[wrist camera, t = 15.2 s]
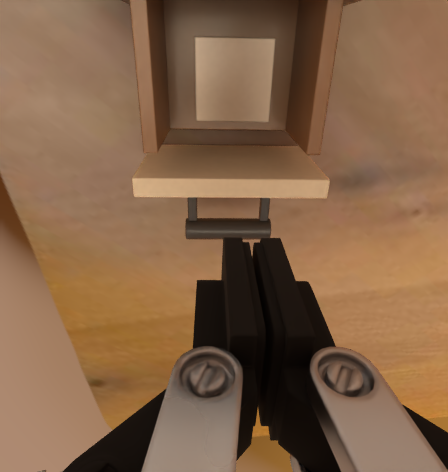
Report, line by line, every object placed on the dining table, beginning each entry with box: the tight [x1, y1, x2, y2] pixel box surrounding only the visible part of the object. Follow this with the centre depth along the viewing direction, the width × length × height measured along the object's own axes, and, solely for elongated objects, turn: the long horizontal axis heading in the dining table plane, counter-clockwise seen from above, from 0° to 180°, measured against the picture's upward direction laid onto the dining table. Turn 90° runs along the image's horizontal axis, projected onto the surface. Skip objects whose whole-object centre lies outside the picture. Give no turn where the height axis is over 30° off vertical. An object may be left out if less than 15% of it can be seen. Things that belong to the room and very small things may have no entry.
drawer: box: [130, 0, 344, 239], centre depth 22 cm, size 18×12×8 cm, turn 179°
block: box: [194, 36, 276, 122], centre depth 22 cm, size 4×4×4 cm
